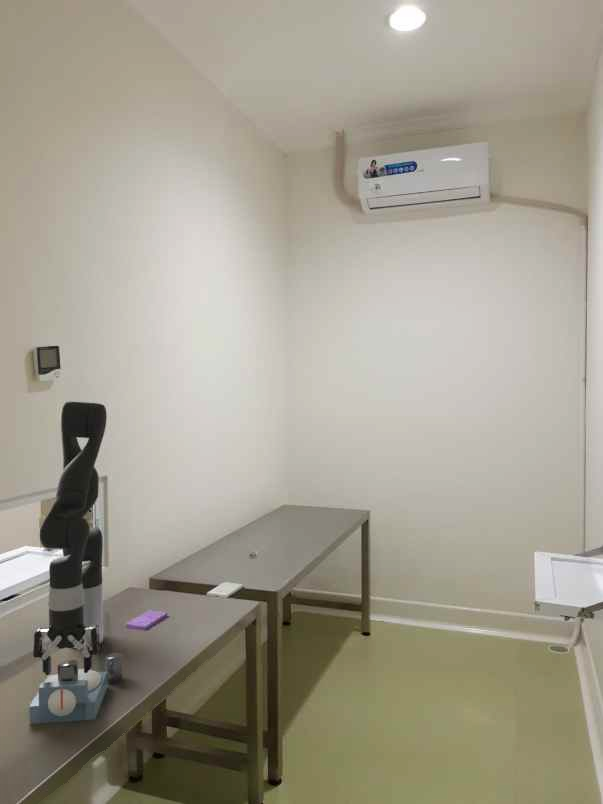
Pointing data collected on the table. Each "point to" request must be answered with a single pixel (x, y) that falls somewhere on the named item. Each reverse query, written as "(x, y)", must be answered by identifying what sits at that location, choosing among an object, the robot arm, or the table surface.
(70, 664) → the cylinder
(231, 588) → the external hard drive
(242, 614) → the table surface
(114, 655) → the cylinder
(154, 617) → the sponges
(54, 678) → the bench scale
